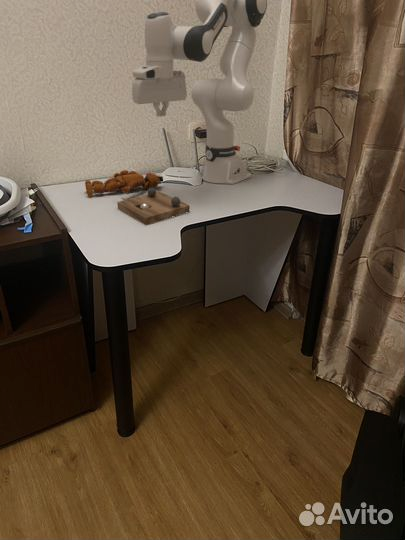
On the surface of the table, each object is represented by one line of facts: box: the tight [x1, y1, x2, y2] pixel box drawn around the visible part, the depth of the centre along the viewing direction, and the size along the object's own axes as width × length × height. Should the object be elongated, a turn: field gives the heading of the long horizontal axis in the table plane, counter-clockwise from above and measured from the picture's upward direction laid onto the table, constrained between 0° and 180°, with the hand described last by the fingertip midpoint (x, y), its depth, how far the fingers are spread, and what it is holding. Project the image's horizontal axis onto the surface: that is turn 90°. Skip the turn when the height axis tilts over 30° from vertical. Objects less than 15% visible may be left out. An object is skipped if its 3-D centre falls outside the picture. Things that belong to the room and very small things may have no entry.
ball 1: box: [147, 187, 157, 196], centre depth 143 cm, size 3×3×3 cm
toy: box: [84, 169, 164, 199], centre depth 154 cm, size 20×7×30 cm
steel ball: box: [140, 203, 150, 210], centre depth 136 cm, size 4×4×4 cm
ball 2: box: [171, 196, 182, 206], centre depth 135 cm, size 3×3×3 cm
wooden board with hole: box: [116, 191, 190, 226], centre depth 138 cm, size 18×18×2 cm
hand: (161, 116), depth 136 cm, fingers closed
